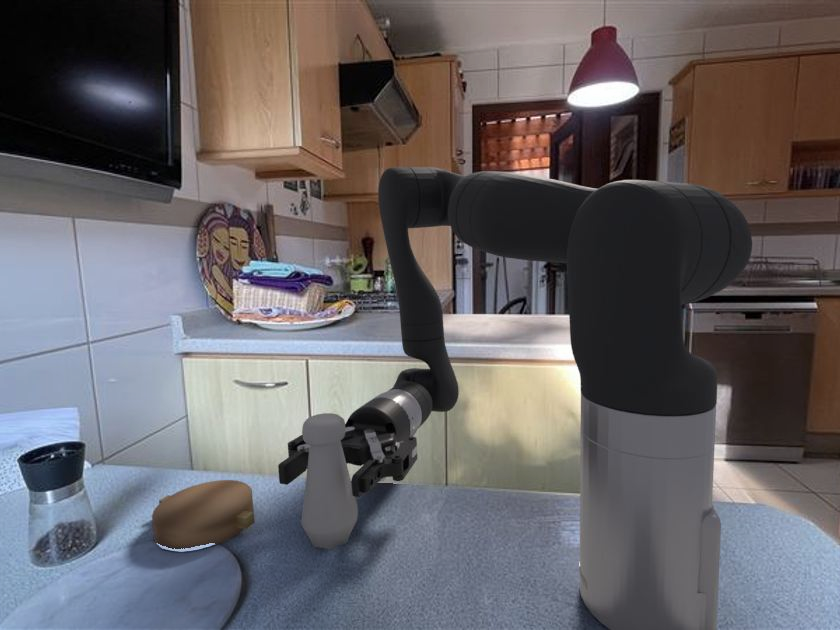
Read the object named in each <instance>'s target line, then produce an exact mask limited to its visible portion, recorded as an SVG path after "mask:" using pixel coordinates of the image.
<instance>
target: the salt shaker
mask: <svg viewBox="0 0 840 630" xmlns="http://www.w3.org/2000/svg"><path fill="white" fill-rule="evenodd" d="M302 424H303V425H302V430H301V435H303V440H304V442H305V443H306V444H308V445H310V446H309V456H308V467H307V469H306V479H305V487H304V496H303V503H302V505H303V506H302V511H301V520H300V523H301V526H302V528H303V530H304V531H305V533H306V534H307V536H308V539H310V542H311V544H312V545H313V547H315V548H319V549H325V550H329V551H330V550H333V549H335V548H337V547H340V546H342V545H345V544H347V542H348V540H349V538H350V536H351V534H352V532H353V530H354V528H355V525H356V523H357V521H358V516H359V515H358V514H359V507H358V503H357V499H356V498H357V497H354V496H353V495H352V478H351V475H350V472H349V469H348V468H349V467H348V464H346V460H345V456H344V452H343V448H342V444H341V440H342V439H343V438H344V436H345V424H346V422H345V419H344V418H343V417H342V416H340V415H339V414H336V413H331V412H328V413H327V412H324V413H318V414H315V415H312V416H309V417H308V418H306V419H305V421H304V422H303V423H302Z"/></svg>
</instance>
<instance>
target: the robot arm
mask: <svg viewBox="0 0 840 630" xmlns="http://www.w3.org/2000/svg"><path fill="white" fill-rule="evenodd" d="M377 196H378V197H377V199H378V209H379V216H380V221H381V226H382V230H383V231H382V232H383V235H384V241H385V245H386V249H387V254H388V258H389V263H390V267H391V271H392V276H393V280H394V284H395V290H396V296H397V301H398V309H399V318H400V320H399V321H400V330H401V331H400V332H401V333H400V334H401V345H402V349H403V353H404V354H405V355H406V356H408V357H410V358H413V359H416V360H419V361H422V362H424V363H425V364H426V365H427V366H428V368H421V367H420V368H417V367H416V368H413V367H411V368H407V369H404V370H402V371H401V372H400V373H399V374H398V375H397V377H396V381H395V383H394V385H393V387H392V388H390V389H388V390H386V391H385V392H382V393H380V394H378V395H376V396H375V397H374V398H372V399H369V401H367V402H366V403H364V404H363V405H361V406H360V407H359V408H356V410H354V411H353V412H352V413H350V415H349V417H348V418H347V420H346V422H345V436H344V438H343V439H342V440H341V444H342V448H343V452H344V456H345V460H346V464H347V465H348V464H351V465H354V466H358V467H359V466H360V468H359V469H358V470H357V471H356V472H355V473H354V474H353V475H352V477H351V483H352V495H353V496H354V497H355V498H362V497H363V496H364V495H365V494H367V493H369V492H371V491H372V490H373V488H375V487H376V485H378V483H379V482H380V483H381V482H384V481H386V479H387V478H388V477H389V478H391V477H392V480H393V481H394V482H402V481H403V480H404V479H405V478H406V477H407V475H408V473H409V472H410V471H411V469H412V468H413V467H414V465H415V463H416V462H417V461H418V440H417V439H418V438H417V437H416V436H415V434H416V433H417V432H418V431H417V430H418V429H419V428H420V427H422V425H423V424H424V423H426V422H427V420H428V418H429V416H431V413H432V412H435V413H436V412H437V413H438V412H439V413H445V412H449V411H450V410H452V409H453V408H454V407H455V405H456V403H457V402H458V400H459V383H458V381H457V377H456V374H455V371H454V369H453V365H452V364H451V361H450V356H449V354H448V350H447V346H446V343H445V329H444V315H443V306H442V302H441V300H440V297H439V294H438V292H437V291H436V289H435V287H434V286H433V284H432V283H431V281H430V279H429V278H428V277H427V275H426V273H425V272H424V271H423V270H422V268H421V266H420V265H419V263H418V261H417V259H416V257H415V255H414V252H413V250H412V246H411V243H410V238H409V237H410V236H409V229H422V228H434V227H445V226H447V227H450V228H451V230H452V232H453V234H454V235H455V236H456V238H458V240H460V241H461V242H462V244H465V245H467V246H469V247H471V248H473V249H476V250H478V251H481V252H485V253H487V254H490V255H493V256H496V257H501V258H507V259H514V260H521V261H533V262H541V263H542V262H545V263H560V264H561V263H562V264H566V276H567V300H568V315H569V335H570V336H569V337H570V339H569V340H570V346H571V351H572V352H571V353H572V356H573V359H574V362H575V364H576V367H577V369H578V372H579V379H580V448H579V449H580V451H579V452H580V455H579V457H580V461H579V462H580V465H579V466H580V469H579V471H580V472H579V475H580V477H579V481H580V482H579V560H578V561H579V562H578V570H579V571H578V572H579V592H580V596H581V599H582V601H583V603H584V605H585V606H586V608H587V609H588V611H589V612H590V613H591V615H592V616H593V617H594V618H595V619H597V621H598V622H600V624H601V625H603V626H604V627H606V628H607V629H608V630H717V626H718V603H719V581H720V580H719V579H720V578H719V577H720V559H721V558H720V556H721V537H722V535H721V534H722V522H721V517H720V516H719V514H718V513H717V511H716V509H715V506H714V505H713V493H714V491H713V490H714V489H713V488H714V468H715V467H714V466H715V445H716V444H715V442H716V441H715V440H716V418H717V417H716V416H717V401H718V400H717V399H718V398H717V397H718V374H717V370H716V369H715V367H714V366H713V364H712V363H711V362H710V361H708V360H706V359H704V358H702V357H699V356H698V355H695V354H692V353H691V352H690V351H689V350H688V348H687V346H686V344H685V341H684V334H683V333H684V332H683V312H682V308H683V307H682V305H688V304H693V303H696V302H699V301H701V300H704V299H707V298H709V297H711V296H714V295H716V294H717V293H720V292H721V291H723V290H724V289H726V288H727V287H728V286H730V285H731V284H732V283H734V282H735V281H736V280H737V279H738V277H740V275H741V274H742V273H743V271H744V270H745V269H746V267H747V265H748V264H749V261H750V258H751V256H752V251H753V239H752V238H753V237H752V231H751V229H750V225H749V224H748V220H747V219H746V217H745V216H744V214H743V213H742V211H741V210H740V209H739V207H737V205H736V204H735V203H734V202H732V201H731V199H729V198H727V197H726V196H724V195H722V194H721V193H719V192H718V191H716V190H714V189H711V188H709V187H706V186H704V185H699V184H694V183H686V182H673V181H672V182H671V181H660V180H645V179H643V180H642V179H623V180H616V181H613V182H609V183H606V184H605V185H602V186H601V187H599V188H593V187H588V186H583V185H579V184H575V183H570V182H566V181H561V180H557V179H554V178H553V179H552V178H548V177H542V176H538V175H531V174H523V173H517V172H509V171H490V170H488V171H487V170H485V171H478V172H477V171H476V172H472V173H469V174H467V175H463V174H459V173H455V172H453V171H449V170H445V169H442V168H439V167H434V166H410V167H409V166H396V167H395V166H394V167H389V168H386V169H385V170H384V171H383V172H382V174H381V175H380V179H379V182H378V191H377ZM309 446H310V445H308V444H306V443H305V442H304V440H303V435H302V434H300V435H299V436H297V437H295V438H294V439H292V440H290V441H288V442H287V453H288V457H286V459H284V460H283V461H281V462H280V463H279V464H278V465H277V468H278V482H279V484H281V485H286V486H287V485H289V484H290V483H292V482H293V481H295V480H296V479H297V478H299V476H300V475H302V474H303V473H305V472H307V467H308V456H309Z"/></svg>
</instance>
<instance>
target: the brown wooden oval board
mask: <svg viewBox="0 0 840 630" xmlns="http://www.w3.org/2000/svg"><path fill="white" fill-rule="evenodd" d="M254 511H255V509H254V499H253V489H252V488H251V486H250V485H249V484H247V483H245V482H244V481H239V480H233V479H219V480H214V481H213V480H212V481H206V482H202V483H199V484H195V485H191V486H189V487H187V488H184V489H182V490H181V489H180V490H179V491H177V492H175V493H173V494H171V495H166V496H164V497H162V498H161V499H159V500H158V505H157V506H156V507H155V508H154V510H153V512H152V516H151V520H152V527H153V537H154V543H155V542H156V543H158V544H160V545H162V546H166V547H168V548H172V549H174V548H175V549H181V548H182V549H183V548H184V549H185V548H191V547H195V546H200V545H206V544H209V543H215V544H217V545H220V544H222V543H225V542H227V541H228V540H230V539H232V538H234V537H235V536H237V535H238V534H240V533H241V532H243V530H248V529H249V528H250V527H252V526H253V525H254V524H255V521H256V520H255V512H254ZM156 543H155V544H156Z"/></svg>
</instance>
